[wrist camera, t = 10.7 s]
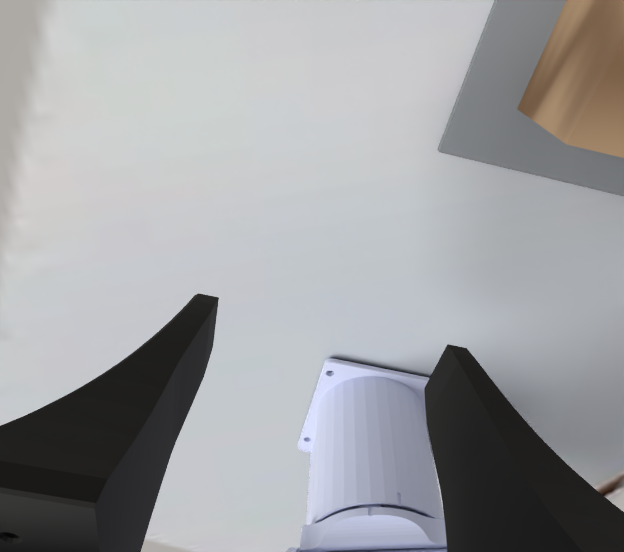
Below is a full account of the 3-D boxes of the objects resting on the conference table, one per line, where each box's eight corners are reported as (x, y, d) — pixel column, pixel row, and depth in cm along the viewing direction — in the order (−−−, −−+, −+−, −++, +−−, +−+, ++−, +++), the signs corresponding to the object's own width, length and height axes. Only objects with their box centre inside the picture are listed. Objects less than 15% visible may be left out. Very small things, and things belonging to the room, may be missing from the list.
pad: (635, 196, 21) (640, 200, 21) (437, 149, 20) (439, 152, 20) (809, -58, 16) (819, -59, 15) (546, -136, 15) (551, -138, 15)
